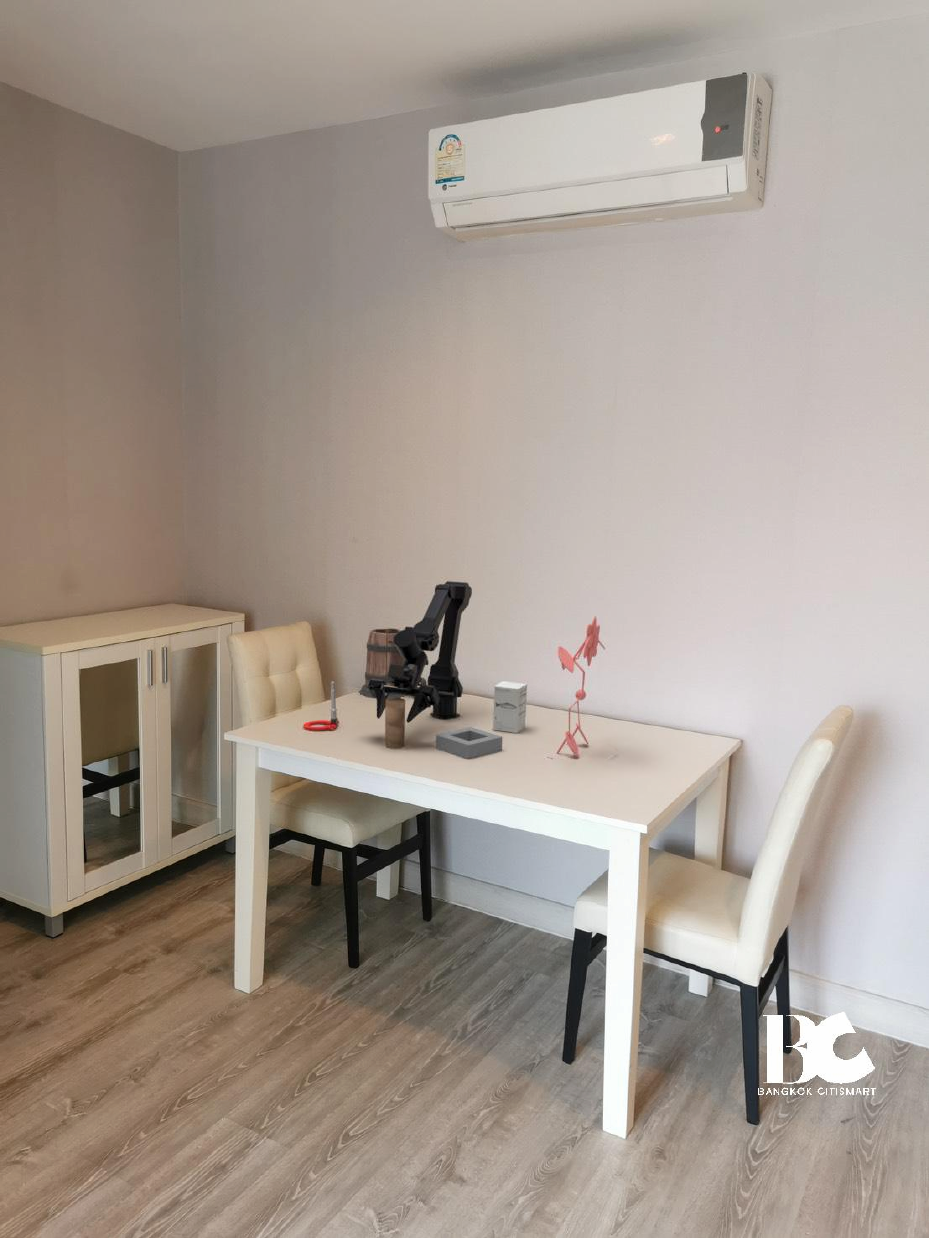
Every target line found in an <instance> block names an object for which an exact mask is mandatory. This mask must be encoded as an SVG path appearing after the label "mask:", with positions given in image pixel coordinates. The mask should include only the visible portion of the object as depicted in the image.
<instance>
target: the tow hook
mask: <svg viewBox="0 0 929 1238" xmlns="http://www.w3.org/2000/svg"><path fill="white" fill-rule="evenodd" d="M330 685H331V686H330V687H331V689H330V704H331V706H330V707H331V709H330V720H326V719H325V720H323V719H322V720H321V719H320V720H311V721H307V722H305V723H303V724H302V725H303V727H302V728H303V729H304V730H306V731H312V732H317V731H318V732H319V731H327V730H328V731H330V732H331V731H332V732H334V731H335V730H336V729H337V727H338V726H339V724H340V721H339V720H338V714H337V713H338V712H337V711H338V710H337V707H336V706H337V705H336V702H337V701H336V689H335V682H334V681H331V682H330ZM315 725H316V726H315ZM317 725H322V726H317ZM323 725H324V726H323Z"/></svg>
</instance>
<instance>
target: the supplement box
mask: <svg viewBox="0 0 929 1238" xmlns="http://www.w3.org/2000/svg"><path fill="white" fill-rule="evenodd" d="M527 690H528V684H527V683H521V682H513V681H512V682H511V681H505V680H503V681H500V682H499V683H497V684H496V685H495V686H494V699H493V719H492V720H493V722H492V730H493V731H502V732H508V733H514V734H518V733H519V732H521V731H522V730H523V729H524V728H525V727H526V717H527V715H526V714H527V697H528V696H527V694H528V692H527Z"/></svg>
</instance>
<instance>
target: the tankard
mask: <svg viewBox="0 0 929 1238" xmlns="http://www.w3.org/2000/svg"><path fill="white" fill-rule="evenodd" d="M400 631H401V629H397V628H391V627H390V628H375V629H371V630H370V631H369V634H368V639H367V642H366V649H367V650H366V665H365V667H366V668H365V670H366V671H365V672H364V680H365V682H364V684H363V685H362V687H361V689H360V690H358V694H359V693H360V694H359V695H360V696H361V695H363V696H362V697H364V696H365V698H369V699H375V700H377V699H376V698H374V697H373V696H372V695H371V693H370V691H369V689H368V688H367V684H368V682H369V681H370V680H371V679H379V680H384V681H385V683H386V685H387V686H394V683H392V682H391V679H392V678H390V677H387V675H388V670H389V665H390V664H393V665H402V664H403V661H404V658H402V657H401V655H400V653H399V651H398V649H397V647H396V645H395V644H394V636H395V635H396V634H397V633H398V632H400ZM421 678H422V681H421V683H418V685H417V688H416V689H419V687H420V685H427V680H426V679H425V678H424V677H421ZM401 697H403V698H405V697H404V695H398V694H390V693H389V695H388V697H387V699H388V698H401Z"/></svg>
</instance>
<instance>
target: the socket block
mask: <svg viewBox="0 0 929 1238" xmlns="http://www.w3.org/2000/svg"><path fill="white" fill-rule="evenodd" d="M435 748H436V749H438V750H441V751H444V752H447V753H450V754H452V755H455V756H458V757H461V758H464V759H467V760H469V759H473V757H474V758H478V757H481V756H485V755H489V754H492V753H493V754H494V753H497V752H500V751H501V752H502V751H503V736H502V735H497V734H494V733H492V732H488V731H485V730H482V729H478V728H475V727H473V726H469V727H463V728H460V729H454V730H451V731H446V732H443V733H442V732H441V733H437V734H435Z"/></svg>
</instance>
